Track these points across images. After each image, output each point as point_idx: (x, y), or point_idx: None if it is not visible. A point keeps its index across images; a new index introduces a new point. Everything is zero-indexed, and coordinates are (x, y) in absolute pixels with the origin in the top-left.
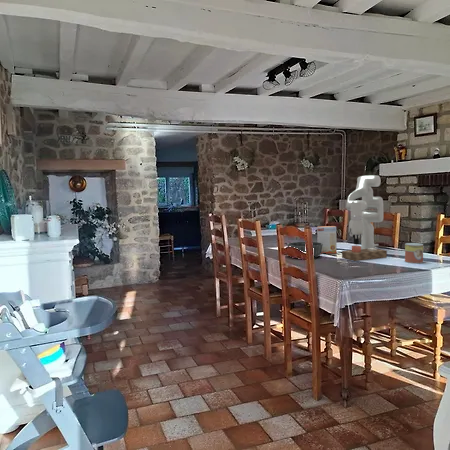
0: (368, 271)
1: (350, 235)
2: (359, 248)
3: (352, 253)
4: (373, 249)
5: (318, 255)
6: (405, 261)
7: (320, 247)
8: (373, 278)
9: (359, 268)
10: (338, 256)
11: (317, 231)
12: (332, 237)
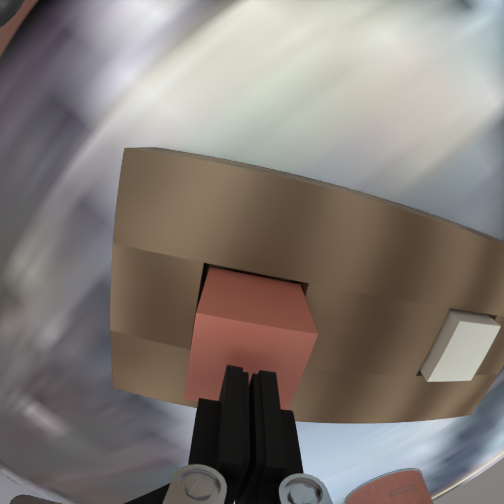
0: (52, 474)
1: None
2: None
3: (112, 360)
4: (442, 379)
5: (10, 18)
6: (359, 488)
7: None
8: (30, 490)
9: (43, 444)
10: (203, 52)
11: None
12: None
